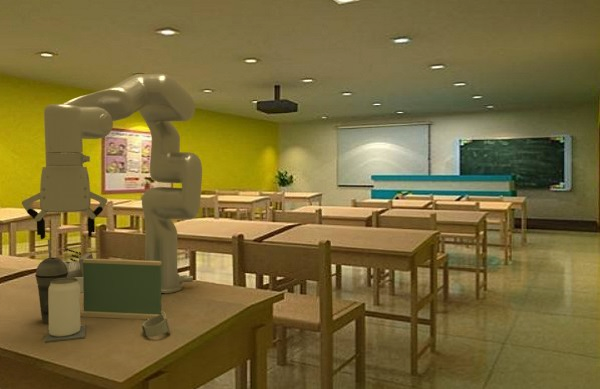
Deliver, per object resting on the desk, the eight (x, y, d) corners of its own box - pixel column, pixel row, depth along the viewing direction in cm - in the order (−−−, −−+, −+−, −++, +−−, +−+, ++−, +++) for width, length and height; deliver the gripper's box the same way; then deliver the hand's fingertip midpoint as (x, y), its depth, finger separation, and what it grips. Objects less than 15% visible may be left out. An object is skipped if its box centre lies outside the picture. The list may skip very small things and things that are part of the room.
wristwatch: (171, 339, 112) (171, 317, 112) (142, 342, 110) (141, 319, 110) (168, 326, 121) (168, 306, 121) (141, 329, 119) (141, 308, 119)
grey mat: (85, 327, 119) (85, 325, 119) (85, 338, 112) (85, 336, 112) (48, 330, 116) (48, 329, 116) (44, 342, 109) (44, 340, 109)
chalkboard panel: (80, 316, 127) (80, 260, 126) (88, 311, 131) (88, 257, 130) (157, 320, 125) (157, 263, 124) (163, 315, 129) (163, 260, 128)
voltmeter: (109, 288, 156) (109, 256, 156) (72, 294, 148) (72, 261, 148) (74, 274, 175) (74, 245, 174) (39, 279, 166) (39, 249, 166)
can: (69, 326, 118) (69, 275, 118) (86, 331, 115) (85, 279, 114) (42, 333, 113) (42, 280, 112) (59, 339, 109) (58, 285, 109)
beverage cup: (46, 327, 119) (45, 243, 117) (29, 321, 122) (28, 240, 121) (75, 319, 125) (74, 239, 123) (57, 314, 129) (56, 236, 127)
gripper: (106, 160, 118) (107, 232, 120) (22, 160, 112) (25, 236, 113) (106, 161, 111) (108, 237, 113) (17, 161, 105) (20, 242, 106)
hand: (66, 237), depth 113 cm, fingers open, 9 cm apart
